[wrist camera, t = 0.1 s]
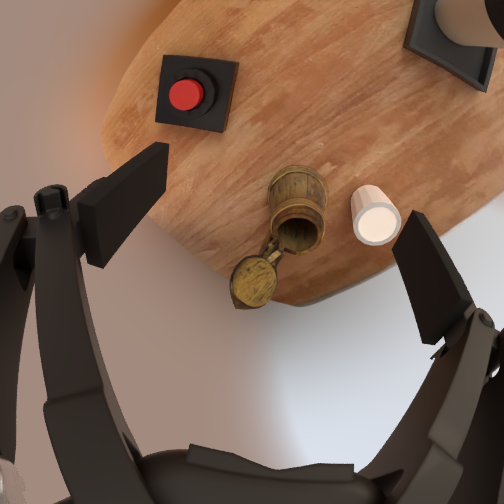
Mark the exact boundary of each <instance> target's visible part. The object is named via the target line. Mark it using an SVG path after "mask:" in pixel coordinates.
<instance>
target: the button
mask: <svg viewBox="0 0 504 504" xmlns="http://www.w3.org/2000/svg"><path fill="white" fill-rule="evenodd" d="M203 94H204V93H203V88H202V86H201V85H200V84H199V83H198V82H197V81H195V80H192V79H186V80H181V81H178V82H177V83H175V84H174V85H173V86H172V88H171V90H170V93H169V98H170V102H171V103H172V105H173V106H174V107H175V108H177V109H179V110H189V109H192V108H194V107H196V106H197V105H199V104H200V102H201V101H202V99H203Z"/></svg>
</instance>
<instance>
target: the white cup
mask: <svg viewBox="0 0 504 504" xmlns="http://www.w3.org/2000/svg"><path fill="white" fill-rule="evenodd" d="M351 211H352V219H353V228H354V232H355V234H356V236H357V238H358V239H359V240H360V241H362V242H363V243H364V244H368V245H372V246H375V245H382V244H385V243H387V242H389V241H391V240H392V239H393V238H394V237H395V236H396V235H397V233H398V231H399V229H400V227H401V217H400V214H399V212H398V210H397V209H396V208H395V206H394V205H393V204H392V203H391V201H390V200H389V199H388V198H387V196H386V195H385V194H384V193H383V191H382V190H380V189H379V188H378V187H376V186H373V185H363V186H361V187H359V188H357V189H356V191H355V192H354V193H353V194H352V197H351Z"/></svg>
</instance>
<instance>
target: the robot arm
mask: <svg viewBox="0 0 504 504" xmlns="http://www.w3.org/2000/svg"><path fill="white" fill-rule="evenodd" d="M168 154H169V144H168V143H161V142H155V143H153V144H152V145H150V146H149V147H147V148H146V149H144V150H143V151H142V152H140V153H139V154H137V155H136V156H135V157H133V158H132V159H130V160H129V161H128V162H126V163H125V164H124V165H122V166H121V167H120V168H118V169H117V170H116V171H114V172H113V173H112V174H110V175H109V176H108V177H102V178H100V179H98V180H95V181H94V182H92V183H91V184H90V185H88V186H87V188H85V189H83V190H82V191H81V192H80V193H79V194H77V195H76V196H75V197H74V198H73V199H71V200H70V201H69V198H68V190H67V188H66V187H65V186H63V185H58V184H57V185H50V186H47V187H44V188H42V189H40V190H39V191H38V192H37V193H35V195H34V202H35V206H36V211H37V216H38V217H26V213H25V209H24V207H22V206H19V205H18V206H17V205H15V206H10V207H8V208H6V209H4V210H3V211H2V212H1V213H0V504H26V502H25V499H24V497H23V493H22V492H23V491H24V490H25V482H24V480H23V478H22V477H21V476H20V475H19V473H18V471H17V469H16V467H15V466H14V461H15V450H16V401H17V384H18V372H19V362H20V354H21V347H22V340H23V334H24V328H25V323H26V318H27V312H28V308H29V303H30V299H31V295H32V291H33V287H34V283H35V304H36V319H37V331H38V341H39V349H40V357H41V363H42V369H43V375H44V381H45V386H46V391H47V401H46V402H45V403H44V406H43V412H44V418H45V423H46V426H47V430H48V434H49V437H50V440H51V444H52V447H53V450H54V453H55V456H56V459H57V462H58V465H59V468H60V471H61V473H62V476H63V478H64V481H65V484H66V486H67V488H68V491H69V493H70V495H71V496H70V497H67V498H65V499H63V500H61V501H59V502H57V503H54V504H504V328H503V329H502V330H501V332H499V331H498V330H496V329H495V325H494V322H493V320H492V318H491V317H490V315H489V314H488V313H487V312H486V311H484V310H483V309H481V308H476V306H475V304H474V301H473V299H472V297H471V295H470V293H469V291H468V290H467V287H466V285H465V284H464V281H463V279H462V277H461V275H460V274H459V272H458V271H457V269H456V267H455V265H454V263H453V261H452V260H451V258H450V256H449V254H448V253H447V251H446V249H445V248H444V246H443V244H442V242H441V241H440V239H439V237H438V236H437V234H436V232H435V231H434V229H433V228H432V226H431V225H430V223H429V221H428V220H427V218H426V217H425V215H424V214H423V213H420V212H418V211H415V210H412V212H411V214H410V216H409V218H408V220H407V222H406V224H405V226H404V228H403V230H402V231H401V233H400V235H399V237H398V239H397V241H396V242H395V244H394V246H393V248H392V251H393V254H394V257H395V259H396V262H397V265H398V267H399V270H400V273H401V276H402V279H403V281H404V284H405V287H406V290H407V293H408V296H409V299H410V303H411V306H412V309H413V312H414V315H415V319H416V322H417V326H418V329H419V333H420V337H421V340H422V343H423V344H430V345H435V344H436V343H437V342H438V341H439V340H440V339H441V338H442V337H443V336H444V339H445V344H444V345H443V346H442V347H441V348H440V349H439V350H438V351H437V352H436V353H435V354H434V355H433V356H432V357H431V358H430V359H431V360H432V359H433V358H435V360H434V362H433V364H432V366H431V368H430V370H429V372H428V374H427V376H426V378H425V380H424V382H423V384H422V385H421V387H420V389H419V391H418V393H417V394H416V396H415V398H414V399H413V401H412V403H411V405H410V406H409V408H408V410H407V411H406V413H405V415H404V416H403V418H402V419H401V421H400V422H399V424H398V426H397V427H396V428H395V430H394V431H393V433H392V434H391V436H390V437H389V439H388V440H387V441H386V443H385V444H384V446H383V447H382V449H381V450H380V451H379V452H378V454H377V455H376V457H375V458H374V459H373V460H372V462H370V463H369V464H368V465H367V466H366V467H365V468H363V469H362V470H360V471H359V472H358V473H355V472H354V464H325V463H317V464H312V465H306V466H301V467H294V468H288V469H281V470H275V469H271V468H268V467H266V466H263V465H260V464H258V463H255V462H252V461H250V460H247V459H245V458H243V457H241V456H238V455H236V454H234V453H230V452H225V451H220V450H215V449H211V448H206V447H202V446H198V445H194V444H190V445H189V449H188V450H187V449H176V450H166V451H160V452H156V453H153V454H150V455H147V456H145V457H143V456H142V454H141V452H140V450H139V448H138V446H137V444H136V442H135V439H134V438H133V435H132V433H131V432H130V429H129V428H128V426H127V423H126V421H125V419H124V416H123V414H122V412H121V409H120V406H119V404H118V401H117V399H116V396H115V393H114V391H113V388H112V385H111V382H110V379H109V376H108V373H107V370H106V367H105V364H104V361H103V357H102V354H101V351H100V347H99V344H98V340H97V337H96V333H95V329H94V325H93V321H92V317H91V312H90V308H89V303H88V299H87V294H86V289H85V284H84V279H83V273H82V267H81V262H80V258H81V256H82V255H83V254H84V253H85V254H86V258H87V263H88V264H90V265H93V266H96V267H99V268H102V269H104V267H105V266H106V264H107V263H108V262H109V260H110V259H111V258H112V256H113V255H114V253H115V252H116V251H117V250H118V248H119V247H120V246H121V244H122V243H123V242H124V241H125V239H126V238H127V237H128V236H129V234H130V233H131V232H132V231H133V229H134V228H135V227H136V225H137V224H138V223H139V222H140V221H141V219H142V218H143V217H144V216H145V215H146V214H147V212H148V211H149V210H150V209H151V208H152V206H153V205H154V204H155V203H156V202H157V201H158V199H159V198H160V197H161V196H162V195H163V194H164V192H165V191H166V180H167V166H168ZM499 366H500V368H499V371H498V373H497V374H496V375H495V376H494V377H492V373H493V372H494V371H495V370H496V369H497V368H498V367H499Z"/></svg>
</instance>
